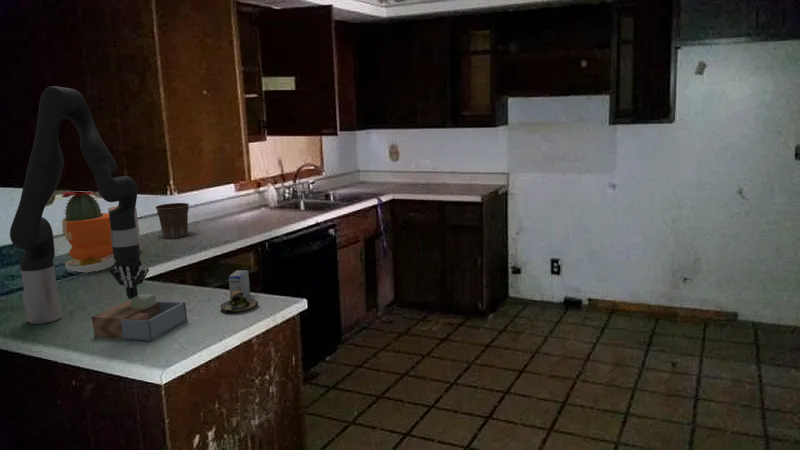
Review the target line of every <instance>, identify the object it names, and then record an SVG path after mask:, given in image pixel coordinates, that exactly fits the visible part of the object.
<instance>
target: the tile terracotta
mask: <svg viewBox="0 0 800 450" xmlns="http://www.w3.org/2000/svg"><path fill="white" fill-rule="evenodd" d="M128 319H131V320H145V321H147V320H148V313H138V314H136V315H134V316H131V317H129V318H128Z"/></svg>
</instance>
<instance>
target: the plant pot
mask: <svg viewBox="0 0 800 450" xmlns="http://www.w3.org/2000/svg"><path fill="white" fill-rule="evenodd" d="M189 206H190V204H189V203H186V202H174V203H173V202H171V203H164V204H159V205H157V206H155V209H156V212H157V216H158V218H159V222H160V227H161V232H162V237H163V239H168V240H170V239H171V240H172V239H174V240H176V239H180V238H185V237H187V236H189V229H188V227H189V226H188V225H189V221H188V220H189V219H188V218H189V217H188V213H189Z"/></svg>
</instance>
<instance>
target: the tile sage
mask: <svg viewBox="0 0 800 450" xmlns="http://www.w3.org/2000/svg"><path fill="white" fill-rule="evenodd" d="M130 300H131V307H132V308H137V309H147V308H149V307H151V306H153V305H155V304H156V302H157V300H156V294H154V293H153V294H152V293H151V294H149V293H140V294H138V295H137V296H135V297H133V298H131V299H130Z"/></svg>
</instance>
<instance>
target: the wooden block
mask: <svg viewBox="0 0 800 450" xmlns="http://www.w3.org/2000/svg"><path fill="white" fill-rule="evenodd" d="M138 313H148V320H149V319H151V318H153V317H155V316H157V315H159V314H160V310H159V301H156V304H155V305H153V306H151V307H149V308H147V309H137V308H132V307H131V299H128V300H126V301H124V302H121V303H120V304H117V305H115V306H113V307H110V308H108V309H107V310H104V311H101V312H99V313H98V314H95V315H93V316H91V320H92V328H93V336H94V337H99V338H109V339H112V338H113V339H123V333H122V326H121V320H122V319H128V318H129V317H131V316H134V315H136V314H138Z"/></svg>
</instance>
